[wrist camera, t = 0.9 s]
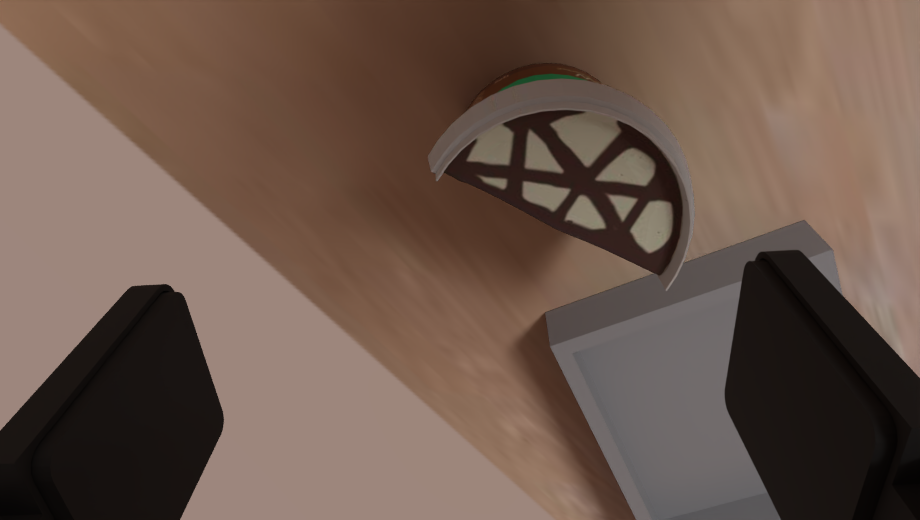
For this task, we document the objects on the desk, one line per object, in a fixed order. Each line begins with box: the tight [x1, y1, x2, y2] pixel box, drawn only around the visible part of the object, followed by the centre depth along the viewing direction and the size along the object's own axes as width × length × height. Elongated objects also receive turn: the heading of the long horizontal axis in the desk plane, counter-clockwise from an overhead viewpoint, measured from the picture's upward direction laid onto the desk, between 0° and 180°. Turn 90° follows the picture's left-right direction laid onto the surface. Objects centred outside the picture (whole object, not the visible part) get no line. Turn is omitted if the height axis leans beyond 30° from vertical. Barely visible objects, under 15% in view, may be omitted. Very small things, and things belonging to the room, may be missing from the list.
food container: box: [428, 63, 695, 291], centre depth 30 cm, size 12×6×10 cm, turn 63°
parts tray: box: [545, 220, 842, 520], centre depth 42 cm, size 16×22×4 cm
